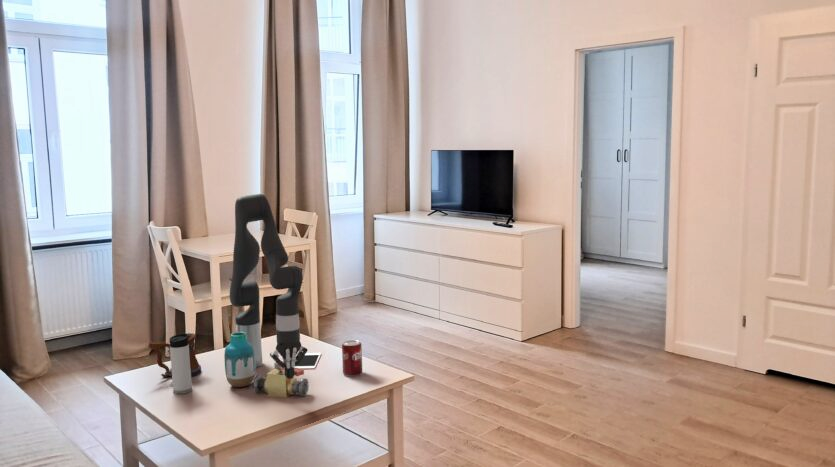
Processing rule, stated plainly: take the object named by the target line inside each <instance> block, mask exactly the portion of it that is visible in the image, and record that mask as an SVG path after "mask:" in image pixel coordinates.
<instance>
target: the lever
mask: <svg viewBox="0 0 835 467" xmlns="http://www.w3.org/2000/svg"><path fill="white" fill-rule="evenodd" d="M281 361H282V362H283V360H281ZM283 363H284V362H283ZM274 368H275V369H282V370H285V368H282V367H281V366H279V365H278V364H277V363H276V362H275V361H274ZM304 370H305V369H299V368H297V367H296V368H294V377H300V376H303V375H304V374H305V371H304Z"/></svg>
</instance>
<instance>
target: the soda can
mask: <svg viewBox="0 0 835 467" xmlns="http://www.w3.org/2000/svg"><path fill="white" fill-rule="evenodd" d="M362 345H363V344H362V342H361V341H359V340H356V339H349V340H345V341H343V342H342V344H341V354H342V356H341V357H342V360H341V361H342V373H343V375H344V376H345V377H352V378H353V377H358V376H360V375H362V374H363V350H362Z"/></svg>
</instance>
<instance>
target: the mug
mask: <svg viewBox="0 0 835 467" xmlns="http://www.w3.org/2000/svg"><path fill="white" fill-rule="evenodd" d="M186 334H187V335H188V344H189V356H190V369H191V377H195V376H198V375H199V374H200V373H201V371H202V366H201V365H200V364H199V361H198V359H197V357H196V351H195V344H196V343H195V340H196V333H190V332H188V333H186ZM160 347H164V348H165V347H167V348H168V350H167V353H168V355H169V356H170V357H171V355H170V343H168V342H153V341H150V342H148V348H150V349H152V348H153V349H154V351H155V352H156V354H157V356H156V357H157V358H156V361H157V366H158V367H159V368H163V369H165V372H164V373H161V374H160V375H161V377H163V378H169V377H172V368H171V367H170V368H169V366H168V365H166V364H165V363H164V362H163V354H162V353H163V352H162V351H161V349H160Z"/></svg>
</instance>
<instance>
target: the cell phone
mask: <svg viewBox="0 0 835 467" xmlns="http://www.w3.org/2000/svg"><path fill="white" fill-rule="evenodd" d="M321 356H322V352H306V354H305V356H304V357H303V359H302V360H301V362H300V364H299V365H295V367H294V368H296V367H297V368H299V369H302V370H315V369H316V368H317V365H318V362H319V360H320V358H321Z"/></svg>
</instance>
